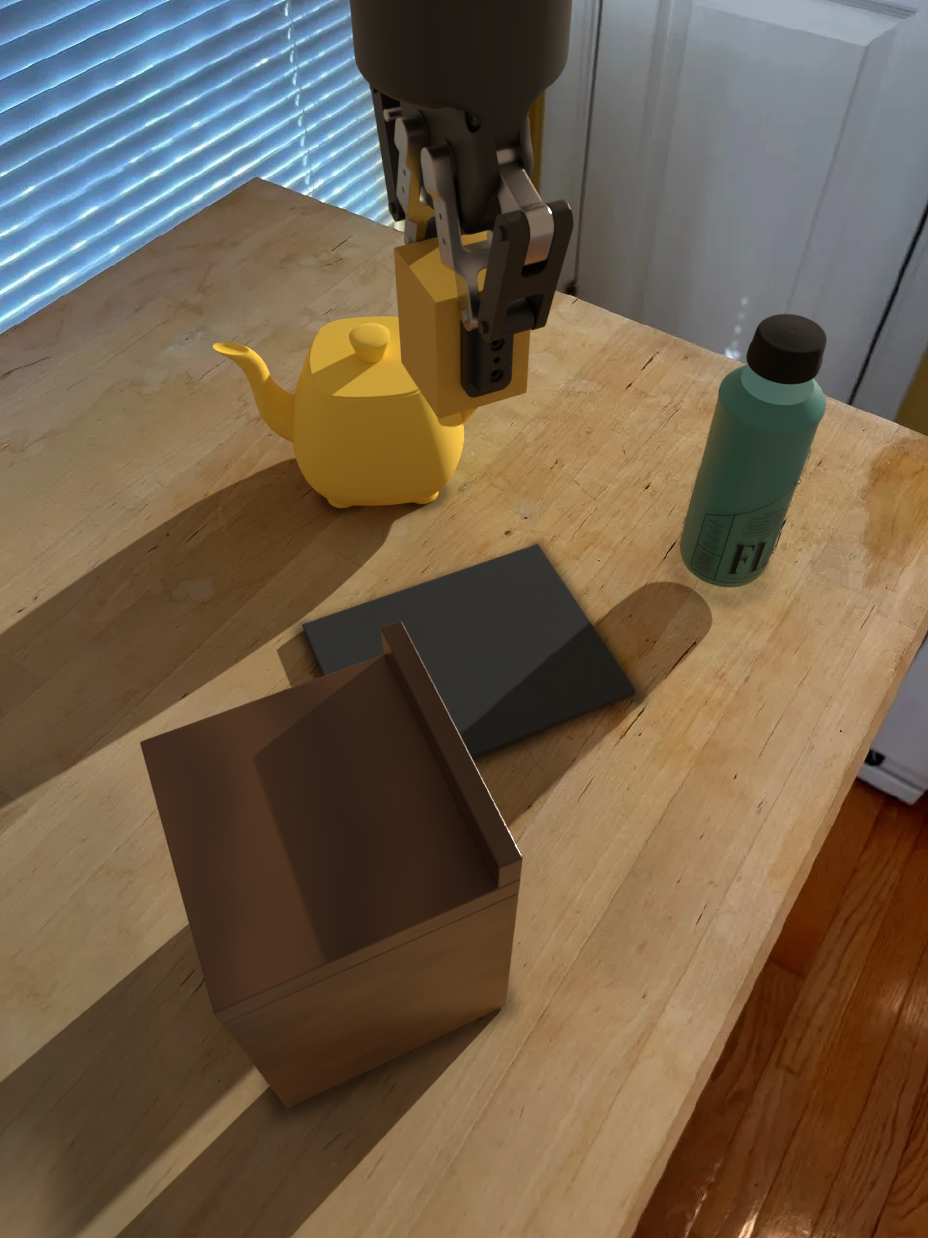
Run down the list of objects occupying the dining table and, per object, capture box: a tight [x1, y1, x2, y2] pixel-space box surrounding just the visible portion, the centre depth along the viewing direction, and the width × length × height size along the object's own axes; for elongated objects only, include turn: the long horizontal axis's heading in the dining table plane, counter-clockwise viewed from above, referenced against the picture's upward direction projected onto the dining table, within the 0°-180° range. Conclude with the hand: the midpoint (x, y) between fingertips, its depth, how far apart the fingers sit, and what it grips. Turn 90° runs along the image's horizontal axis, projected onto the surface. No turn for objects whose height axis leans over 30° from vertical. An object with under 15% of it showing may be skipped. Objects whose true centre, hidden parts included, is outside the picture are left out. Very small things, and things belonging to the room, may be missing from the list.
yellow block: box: [393, 231, 532, 419], centre depth 42 cm, size 4×4×6 cm
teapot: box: [212, 315, 479, 509], centre depth 69 cm, size 13×20×12 cm
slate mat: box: [302, 543, 637, 760], centre depth 62 cm, size 18×14×1 cm
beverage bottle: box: [677, 313, 828, 588], centre depth 60 cm, size 6×7×20 cm
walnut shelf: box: [139, 621, 524, 1109], centre depth 44 cm, size 12×12×19 cm
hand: (462, 355), depth 43 cm, fingers closed on yellow block, 4 cm apart
